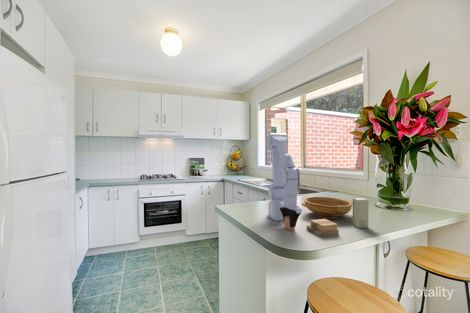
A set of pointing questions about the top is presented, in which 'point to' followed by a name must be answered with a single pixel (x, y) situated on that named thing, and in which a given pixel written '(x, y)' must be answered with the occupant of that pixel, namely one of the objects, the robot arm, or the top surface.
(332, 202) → the wooden bowl
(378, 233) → the top surface
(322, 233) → the bottom block
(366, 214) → the box
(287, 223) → the peach capsule
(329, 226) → the top block
